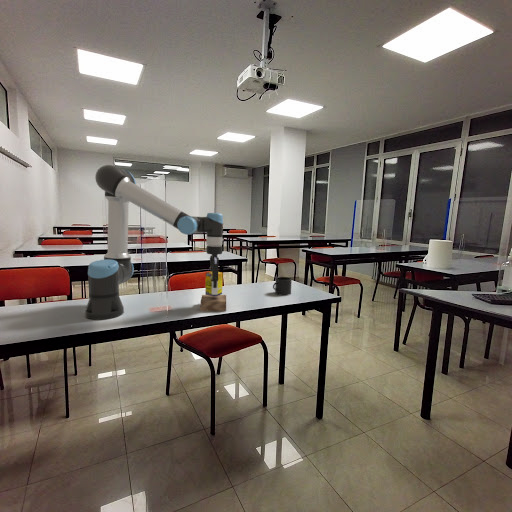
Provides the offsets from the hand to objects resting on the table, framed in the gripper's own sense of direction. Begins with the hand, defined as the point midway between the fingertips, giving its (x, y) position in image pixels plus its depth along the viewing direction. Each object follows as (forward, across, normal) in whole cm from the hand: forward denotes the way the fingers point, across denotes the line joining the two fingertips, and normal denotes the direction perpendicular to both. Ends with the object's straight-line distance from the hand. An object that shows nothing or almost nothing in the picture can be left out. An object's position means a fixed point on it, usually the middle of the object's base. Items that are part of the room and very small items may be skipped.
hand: (213, 291), depth 146 cm
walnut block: (+8, 0, 0) cm, 8 cm away
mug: (+8, +22, -42) cm, 48 cm away
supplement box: (+1, 0, 0) cm, 1 cm away
